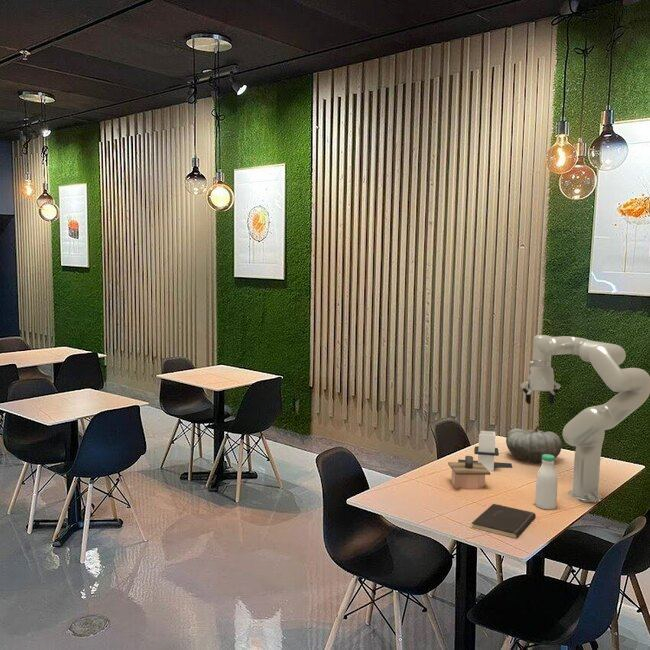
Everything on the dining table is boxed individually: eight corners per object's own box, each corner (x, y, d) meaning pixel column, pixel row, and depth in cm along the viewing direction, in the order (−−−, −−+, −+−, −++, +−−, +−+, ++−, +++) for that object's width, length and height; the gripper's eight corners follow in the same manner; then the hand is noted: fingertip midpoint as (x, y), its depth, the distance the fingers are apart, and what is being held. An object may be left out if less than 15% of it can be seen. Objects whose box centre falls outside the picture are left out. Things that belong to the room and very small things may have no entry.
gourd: (543, 466, 294) (541, 427, 295) (495, 462, 312) (494, 425, 314) (571, 461, 310) (569, 424, 312) (524, 458, 329) (522, 423, 330)
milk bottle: (556, 511, 246) (558, 459, 244) (534, 508, 249) (537, 457, 247) (556, 504, 254) (559, 454, 252) (535, 501, 256) (538, 451, 254)
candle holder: (458, 459, 310) (459, 425, 309) (511, 463, 305) (512, 428, 304) (457, 474, 286) (459, 437, 285) (515, 479, 281) (517, 441, 280)
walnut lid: (490, 474, 266) (490, 462, 265) (456, 474, 265) (456, 461, 264) (480, 464, 280) (481, 452, 279) (448, 464, 279) (448, 452, 278)
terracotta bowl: (487, 491, 267) (488, 474, 266) (456, 490, 266) (457, 474, 266) (478, 480, 279) (479, 464, 279) (449, 480, 279) (450, 464, 278)
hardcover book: (471, 529, 229) (471, 522, 229) (492, 509, 248) (493, 503, 248) (516, 540, 221) (517, 533, 220) (535, 519, 240) (535, 513, 240)
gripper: (524, 365, 275) (522, 405, 276) (565, 365, 275) (562, 405, 277) (518, 362, 282) (516, 401, 284) (557, 363, 283) (555, 402, 285)
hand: (539, 403), depth 280 cm, fingers open, 9 cm apart
